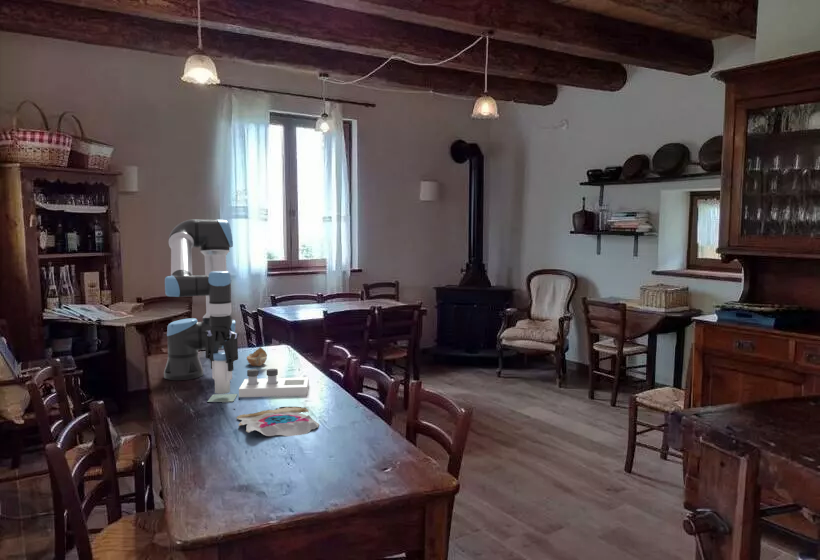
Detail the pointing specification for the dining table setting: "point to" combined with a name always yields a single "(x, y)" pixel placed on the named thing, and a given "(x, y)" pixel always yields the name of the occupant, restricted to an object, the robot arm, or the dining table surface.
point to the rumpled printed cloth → (279, 421)
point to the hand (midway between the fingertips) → (222, 378)
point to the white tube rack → (275, 387)
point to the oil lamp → (257, 357)
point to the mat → (223, 398)
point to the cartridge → (220, 373)
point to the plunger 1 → (252, 376)
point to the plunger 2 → (272, 376)
